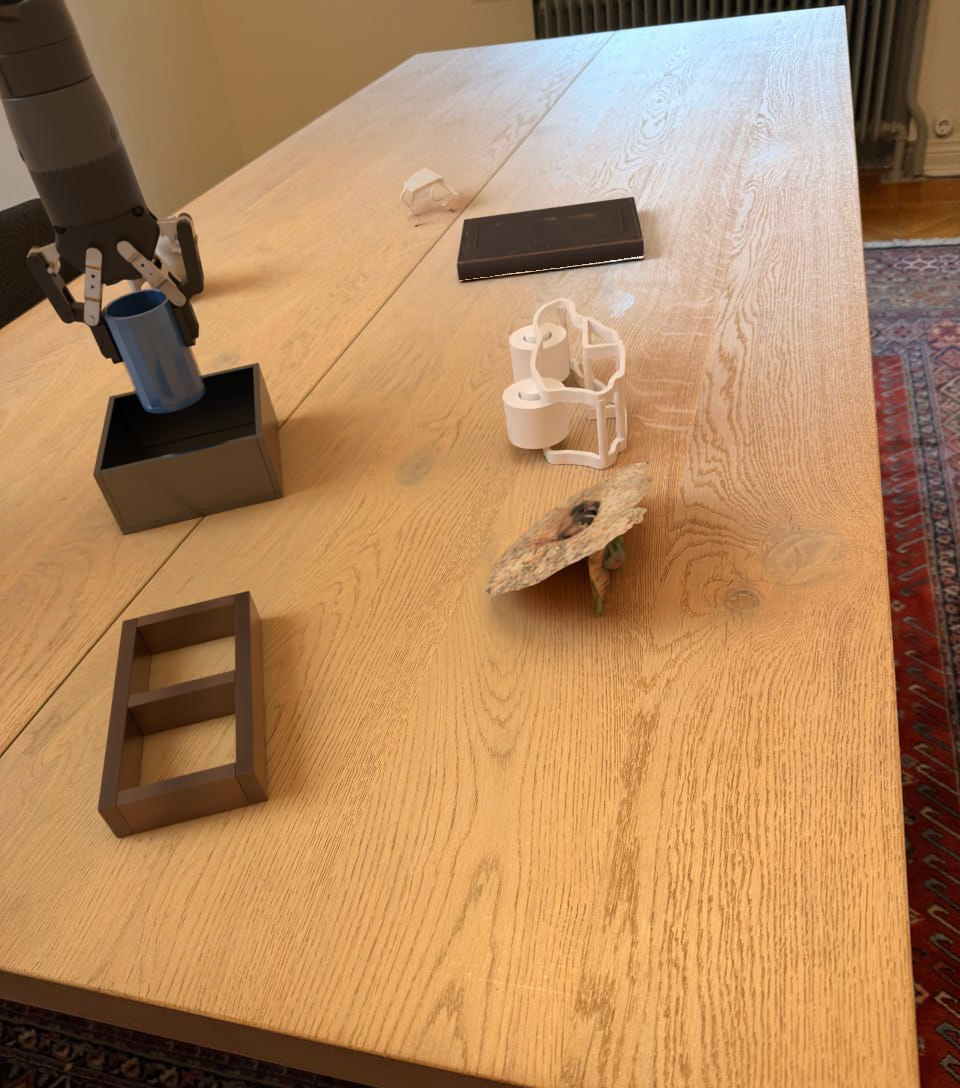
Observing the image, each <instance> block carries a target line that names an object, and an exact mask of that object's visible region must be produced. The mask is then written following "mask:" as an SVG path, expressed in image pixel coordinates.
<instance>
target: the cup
mask: <svg viewBox="0 0 960 1088" xmlns="http://www.w3.org/2000/svg"><path fill="white" fill-rule="evenodd" d="M173 305H174V304H173V303H172V302H171V301H170V300H169V299H168V298H167V297H166V296H165V295H164V294H163V293H162V292H161V291H160V290H159V289H157V288H156V289H151V288H146V289H141V290H140V291H135V292H132V291H131V292H128V293H126V294H123V295H120V296H118V297H117V298H115V299H113V300H111V301H109V302H108V303H107V304H106V305H105V306H104V307H102V316H103V319H104V321H105V323H106V326H107V328H108V330H109V332H110V335H111V337H112V339H113V342H114V344H115V346H116V349H117V351H118V353H119V356H120V358H121V360H122V362H121V363H122V365H123V367H124V370H125V372H126V374H127V376H128V379H129V382H130V383H131V386H132V388H133V391H135V392H136V395H137V397H138V399H139V401H140V402H141V405H142V407H143V409H144V410H146V411H147V412H150V413H169V412H174V411H177V410H181V409H183V408H186V407H188V406H190V405H192V404H194V403H195V402H197V401H198V400H199V399H200V398H201V397H202V396H203V395H204V393H205V390H206V387H205V385H204V380H203V378H202V373H201V369H200V367H199V365H198V362H197V359H196V356H195V355H194V351H193V348H192V346H190V347H187V345H186V343H185V340H184V337H183V335H182V332H181V330H180V327H179V324H178V322H177V319H176V317H175V314H174V311H173Z"/></svg>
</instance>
